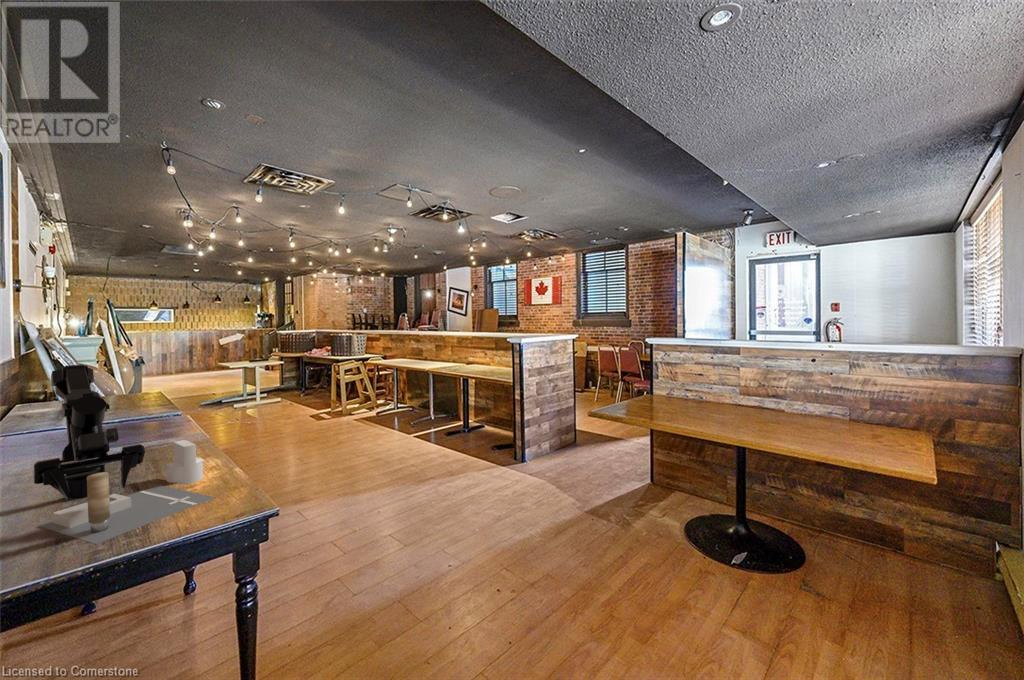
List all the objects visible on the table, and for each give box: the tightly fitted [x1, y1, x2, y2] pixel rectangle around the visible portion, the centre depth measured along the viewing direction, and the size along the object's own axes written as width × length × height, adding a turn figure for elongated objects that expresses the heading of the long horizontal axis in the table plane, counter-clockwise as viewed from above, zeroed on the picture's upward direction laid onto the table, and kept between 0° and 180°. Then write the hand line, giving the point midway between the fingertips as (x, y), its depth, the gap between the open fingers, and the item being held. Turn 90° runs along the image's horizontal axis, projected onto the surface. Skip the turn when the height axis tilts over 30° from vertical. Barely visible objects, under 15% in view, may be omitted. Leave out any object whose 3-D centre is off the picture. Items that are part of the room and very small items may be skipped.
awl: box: [87, 471, 110, 533], centre depth 97 cm, size 4×4×13 cm
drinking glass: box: [165, 439, 204, 486], centre depth 130 cm, size 9×9×12 cm
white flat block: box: [52, 493, 131, 528], centre depth 104 cm, size 7×12×3 cm, turn 160°
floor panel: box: [36, 484, 216, 545], centre depth 107 cm, size 24×26×1 cm
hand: (97, 492), depth 97 cm, fingers open, 9 cm apart
